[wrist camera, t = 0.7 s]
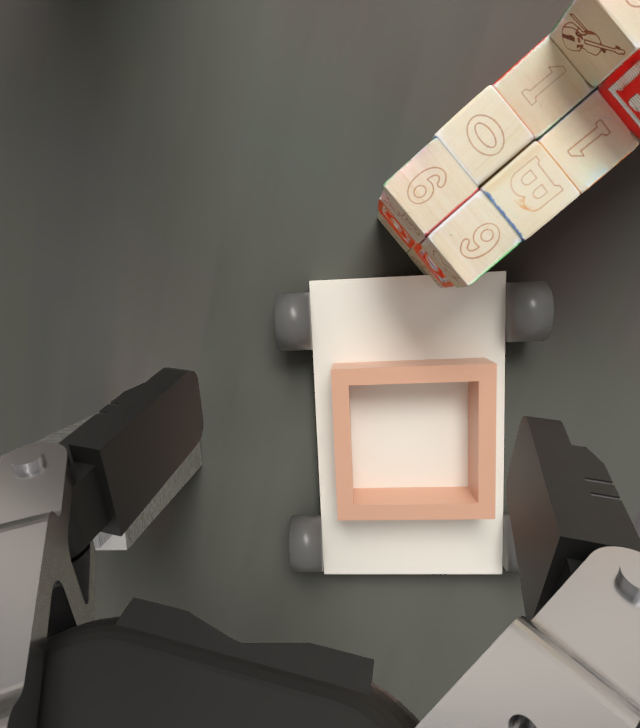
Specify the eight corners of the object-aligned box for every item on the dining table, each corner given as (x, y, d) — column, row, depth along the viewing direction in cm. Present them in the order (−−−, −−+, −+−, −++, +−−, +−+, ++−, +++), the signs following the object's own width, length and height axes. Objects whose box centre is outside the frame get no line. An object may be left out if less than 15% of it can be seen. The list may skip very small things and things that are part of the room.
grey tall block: (127, 398, 32) (-4, 459, 20) (196, 396, 32) (103, 457, 20) (135, 466, 33) (13, 562, 21) (202, 464, 33) (116, 562, 21)
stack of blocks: (436, 292, 30) (482, 287, 18) (374, 218, 30) (379, 161, 17) (734, 46, 26) (1049, -172, 14) (666, -41, 26) (928, -339, 14)
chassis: (281, 283, 30) (270, 281, 26) (530, 270, 29) (558, 266, 25) (298, 561, 33) (290, 597, 29) (524, 561, 32) (548, 598, 28)
